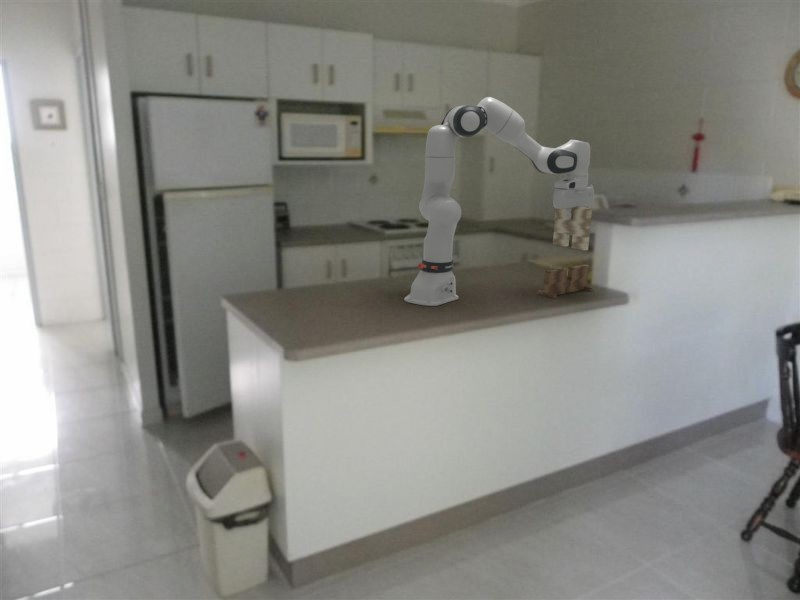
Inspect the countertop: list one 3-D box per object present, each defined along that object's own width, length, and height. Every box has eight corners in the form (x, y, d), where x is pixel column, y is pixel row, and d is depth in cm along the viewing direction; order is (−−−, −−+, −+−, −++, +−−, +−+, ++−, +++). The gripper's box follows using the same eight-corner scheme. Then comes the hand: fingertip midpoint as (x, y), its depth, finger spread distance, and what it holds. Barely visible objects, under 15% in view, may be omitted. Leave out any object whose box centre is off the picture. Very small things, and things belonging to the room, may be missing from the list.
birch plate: (552, 244, 242) (556, 204, 238) (556, 243, 243) (559, 204, 239) (584, 250, 229) (588, 208, 225) (588, 250, 230) (592, 208, 226)
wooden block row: (552, 298, 231) (554, 273, 229) (537, 294, 238) (539, 269, 235) (592, 290, 244) (595, 266, 242) (577, 286, 251) (579, 263, 248)
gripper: (586, 181, 237) (583, 216, 241) (551, 183, 226) (548, 219, 230) (600, 182, 232) (596, 218, 236) (564, 184, 221) (561, 221, 225)
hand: (572, 219), depth 233 cm, fingers closed on birch plate, 2 cm apart
